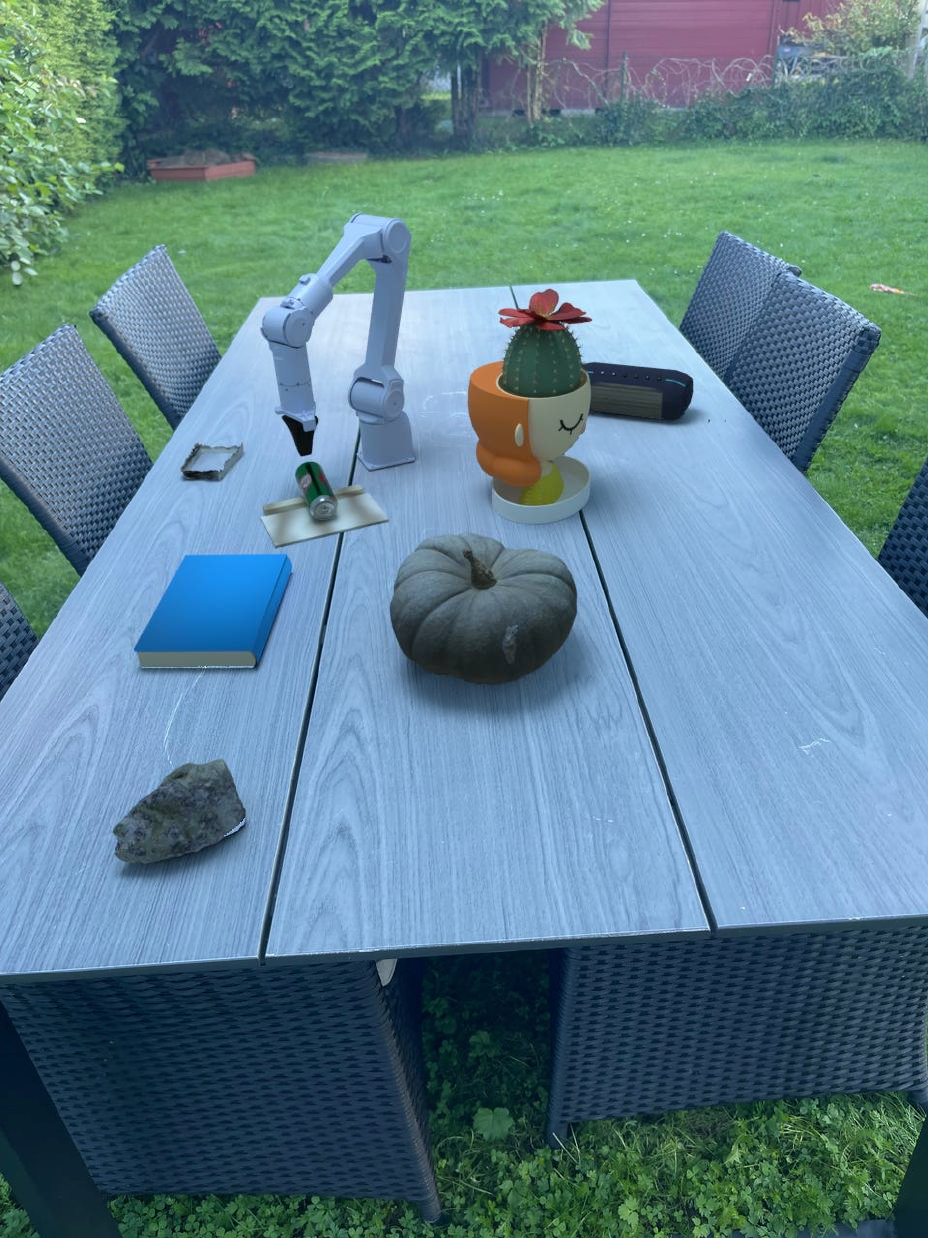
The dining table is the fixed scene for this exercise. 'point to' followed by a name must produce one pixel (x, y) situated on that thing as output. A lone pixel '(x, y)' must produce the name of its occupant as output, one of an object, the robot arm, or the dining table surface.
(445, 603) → the gourd
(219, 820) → the mineral rock
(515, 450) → the potted cactus
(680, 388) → the portable speaker
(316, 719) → the dining table surface
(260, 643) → the book
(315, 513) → the soda can
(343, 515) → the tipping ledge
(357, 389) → the robot arm
